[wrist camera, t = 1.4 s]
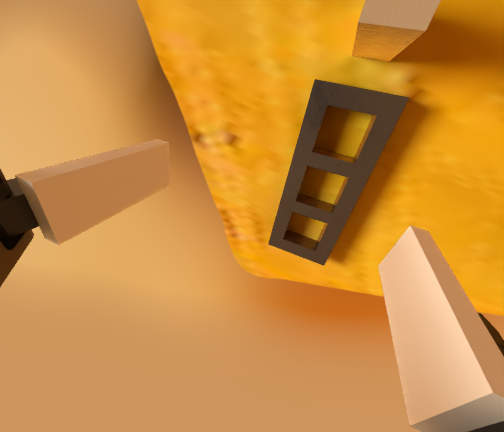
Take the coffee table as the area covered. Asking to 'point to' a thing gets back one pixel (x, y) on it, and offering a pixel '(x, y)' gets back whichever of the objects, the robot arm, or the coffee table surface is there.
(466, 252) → the coffee table surface
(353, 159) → the dark grey ladder frame
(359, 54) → the beige tall block
